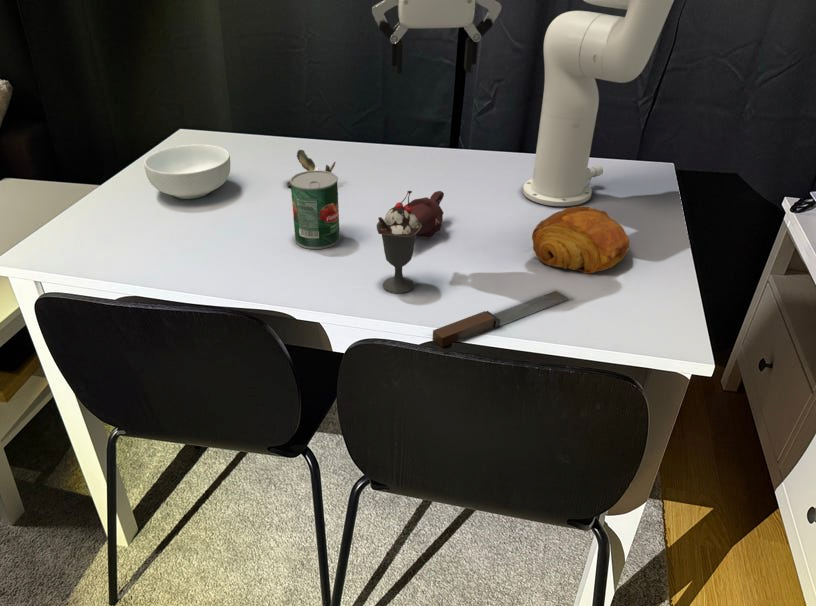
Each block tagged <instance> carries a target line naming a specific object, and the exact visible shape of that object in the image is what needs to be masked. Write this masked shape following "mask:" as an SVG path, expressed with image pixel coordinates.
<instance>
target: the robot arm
mask: <svg viewBox="0 0 816 606" xmlns="http://www.w3.org/2000/svg"><path fill="white" fill-rule="evenodd" d="M582 1H583V2H585V3H587V4H590V5H593V6H598V7H605V8H612V9H619V10H626V13H625V16H619V15H612V14H607V13H601V12H595V11H594V12H593V11H586V10H570V11H565V12H564V13H563V12H562V13H561V14H559V15H557V16H556V17H555V18H554V19H553V20H552V21H551V22H550V24H549V25H548V27H547V29H546V31H545V35H544V39H543V62H544V64H543V65H544V84H543V97H542V104H541V112H540V119H539V126H538V127H539V128H538V135H537V143H536V150H535V158H534V166H533V172H532V178H530V179H528V180H526V181H525V182H524V184H523V185H522V194H523V195H524V196H525V198H527V199H528V200H530V201H532V202H534V203H537V204H540V205H543V206H544V205H545V206H550V207H575V206H579V205H582V204H584V203H586V202H588V201H590V199H591V197H592V193H593V189H592V187H591V186H590V185H589V181H591V179H592V178H594V179H595V178H597V177H600V176H602V175H603V174H604V168H603V167H602V165H596V166H592V167H589V162H590V161H589V160H590V155H591V151H592V150H591V149H592V143H593V140H594V139H593V138H594V133H595V127H596V121H597V115H598V110H599V104H600V95H599V88H598V85H597V81H596V79H599V80H602V81H608V82H612V83H618V84H619V83H623V84H625V83H629V82H633V81H634V80H635V79H636V78H638V77H639V76H640V74H641V73H642V72H643V71H644V69H645V67H646V65H647V64H648V62H649V60H650V57H651V56H652V53H653V50H654V48H655V46H656V44H657V41H658V39H659V37H660V34H661V32H662V31H663V27H664V25H665V23H666V20H667V18H668V15H669V13H670V10H671V8H672V6H673V4H674V1H675V0H582ZM476 4H477V5H479V6H481V7H483V8H485V9H486V10H487V12H486V14H485V16H484V18H483V19H482V20H481V21H480V22H479V23H478V24H477V25H475V23H474V19H475V12H476V11H475V10H476ZM394 7H397V16H398V19H399V21H397V23H396V25H395V26H394V27H393V26H392V24H391V23H389V21H388V20H387V18H386V16H385V13H386V12H387V11H389V10H391V9H393V8H394ZM502 7H503V6H502V5H501V3H500V2H498V1H496V0H381V1H380V2H378V3H376V4H375V5H373V6H372V7H371V14H372V16H373V18H374V20H375V22H376V24H377V26H378V28H379V30H380V31H381V33H382V34H383V35H384V36H385V37H386V38H387V39H388V40H389V41H390V42H391V67H395V68H396V75H401V74H402V73H403V40H402V38H403V37H404V35H405V34H406V33H407V31H409V29H453V28H455V29H456V28H463V29H464V30H465V31H466V33H467V37H466V39H465V44H464V61H463V69H464V71H465V73H467V74H470V73H472V66H476V65H477V59H478V58H477V57H478V47H479V45H478V43H479V42H480V41H481V39H482V38H483V36H485V35H486V33H487V32H488V31H490V30H491V28H492V27H493V25H494V23H495V21H496V20H497V18H498V16H499V14H500V13H501V11H502V9H503V8H502Z"/></svg>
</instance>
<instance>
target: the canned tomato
mask: <svg viewBox="0 0 816 606" xmlns="http://www.w3.org/2000/svg"><path fill="white" fill-rule="evenodd" d="M338 180H339V179H338V176H337V175H336V174H335V173H333V172H332V171H331V172H327V171H325V170H320V169H319V170H315V171H307V170H306V171H301V172H298V173H296V174H294V175H293V176H291V178H290V180H289V181H290V183H291V186H290V193H291V204H292V205H291V206H292V215H293V219H292V220H293V228H294V241H295V244H296V245H298V246H299V247H301V248H305V249H309V250H322V249H327V248H331V247H333V246H336V244H338V243H339V242H340V239H341V234H340V212H339V209H340V208H339V189H338V188H339V187H338Z"/></svg>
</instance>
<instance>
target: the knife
mask: <svg viewBox="0 0 816 606" xmlns="http://www.w3.org/2000/svg"><path fill="white" fill-rule="evenodd" d="M568 300H569V297H568V296H565V295H564V294H563V293H561V292H559V291H557V290H554V291H551V292H549V293H546V294H542V295H541V296H538V297H534V298H532V299H530V300H528V301H524V302H521V303H519V304H517V305H514V306H511V307H509V308H506V309H504V310H501V311H498V312H495V313H491V312H490V311H489V310H484V311H481V312H479V313H476V314H473V315H470V316H468V317H464V318H463V319H460V320H457V321H454V322H451V323H449V324H446V325H444V326H441V327H438V328H435V329H433V330H432V341H433V342H435V343H436V344H437V345H438V346H440V347H441V348H444V347H447V346H450V345H452V344H454V343H457V342H460V341H463V340H466V339H467V338H470V337H473V336H475V335H478V334H481V333H483V332H486V331H488V330H491V329H498V328H500V327H501V326H504V325H506V324H507V325H508V324H509V323H512V322H515V321H517V320H519V319H522V318H525V317H528V316H530V315H532V314H536V313H538V312H540V311H542V310H546V309H548V308H551V307H554V306H556V305H558V304H561V303H563V302H564V303H565V302H566V301H568Z"/></svg>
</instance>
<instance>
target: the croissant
mask: <svg viewBox="0 0 816 606" xmlns="http://www.w3.org/2000/svg"><path fill="white" fill-rule="evenodd" d="M531 239H532V247H533V252H534V254H535V256H536V257H537V258H538V259H539V260H540V262H542V263H543V264H545V265H547V266H551V267H555V268H562V269H564V270H566V269H570V270H571V271H576V270H579V272H581V273H583V274H594V273H598V272H602V271H605V270H608V269H611V268H613V267H614V266H616V265H617V264H618V263H620V262H621V261H623V259H624V258H625V256H627V255H628V250H629V249H630V239H629V237H628V235H627V232H626V230H625V229H624V227H623V226H622V225H621V224H619V223H618V222H617V221H616V220H615V219H613V218H612V217H611V216H610V215H609V214H608V213H607V212H606V211H604V210H600V209H596V208H593V207H590V206H581V205H580V206H579V205H578V206H570V207H567V208H565V209H563V210H558V211H557V212H555V213H553V214H551V215H550V216H548V217H546V218H545V219H543V220H541V221H540V222H539V223H538V224H537V225H536V226H535V228H534V229H533V231H532V235H531Z"/></svg>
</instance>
